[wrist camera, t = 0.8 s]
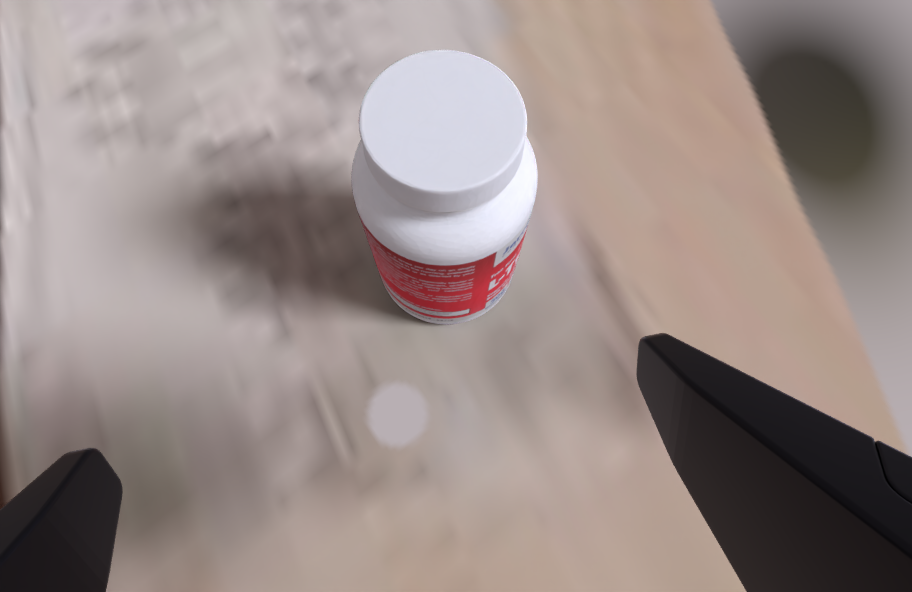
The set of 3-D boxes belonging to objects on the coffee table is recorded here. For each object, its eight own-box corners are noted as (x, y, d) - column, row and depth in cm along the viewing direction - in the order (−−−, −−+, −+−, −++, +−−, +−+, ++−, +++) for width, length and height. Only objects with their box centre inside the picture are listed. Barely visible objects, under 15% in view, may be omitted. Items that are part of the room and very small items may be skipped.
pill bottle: (503, 337, 25) (541, 235, 14) (367, 316, 25) (306, 200, 15) (521, 212, 27) (565, 40, 16) (394, 193, 27) (357, 12, 16)
